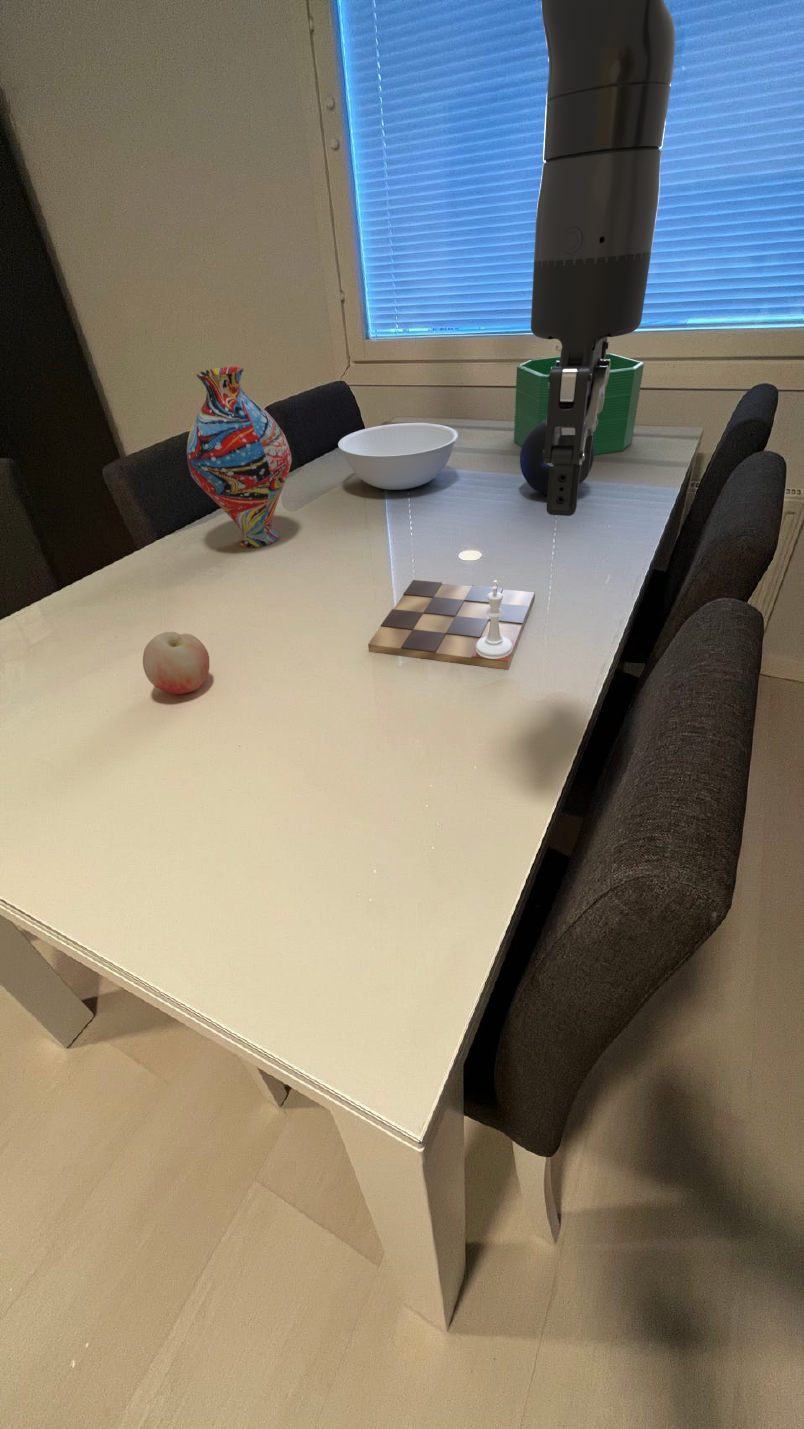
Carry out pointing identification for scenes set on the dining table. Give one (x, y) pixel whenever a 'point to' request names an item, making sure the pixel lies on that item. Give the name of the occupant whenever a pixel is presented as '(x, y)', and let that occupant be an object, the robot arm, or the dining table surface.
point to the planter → (611, 421)
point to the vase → (238, 455)
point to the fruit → (176, 662)
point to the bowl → (399, 453)
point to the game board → (450, 623)
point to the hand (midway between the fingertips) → (568, 495)
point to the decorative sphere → (539, 458)
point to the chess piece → (494, 630)
